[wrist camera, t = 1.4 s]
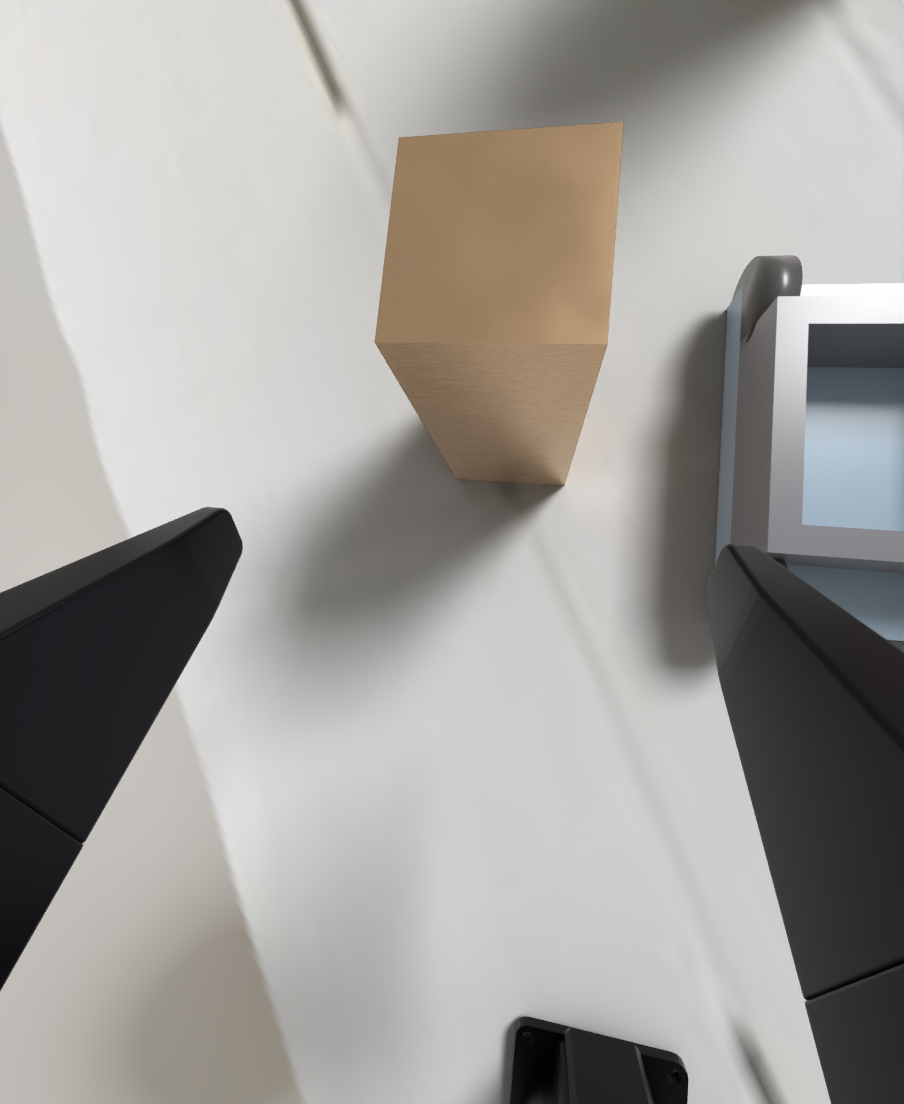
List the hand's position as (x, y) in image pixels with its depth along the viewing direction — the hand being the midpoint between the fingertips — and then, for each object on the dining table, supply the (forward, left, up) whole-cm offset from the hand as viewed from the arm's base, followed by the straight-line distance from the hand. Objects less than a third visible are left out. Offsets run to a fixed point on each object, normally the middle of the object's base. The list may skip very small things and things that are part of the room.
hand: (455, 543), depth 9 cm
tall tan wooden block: (+7, 0, -13) cm, 15 cm away
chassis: (+6, -14, -13) cm, 20 cm away
